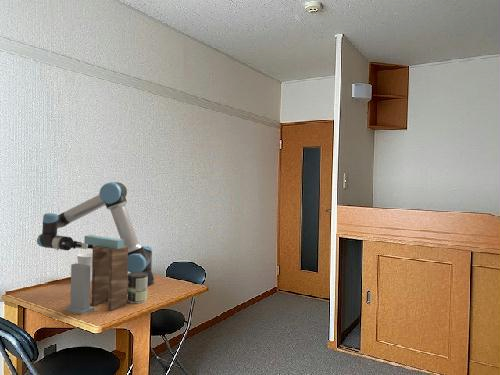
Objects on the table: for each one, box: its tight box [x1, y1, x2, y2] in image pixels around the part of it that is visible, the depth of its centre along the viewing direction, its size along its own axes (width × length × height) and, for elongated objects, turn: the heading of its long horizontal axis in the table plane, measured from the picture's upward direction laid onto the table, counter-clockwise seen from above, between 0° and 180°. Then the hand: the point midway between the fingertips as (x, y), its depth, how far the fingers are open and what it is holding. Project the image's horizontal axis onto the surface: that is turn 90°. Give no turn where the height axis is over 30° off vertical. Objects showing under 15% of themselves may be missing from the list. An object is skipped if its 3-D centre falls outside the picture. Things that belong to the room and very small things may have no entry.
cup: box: [76, 252, 93, 282], centre depth 233 cm, size 12×12×16 cm
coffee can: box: [127, 272, 148, 304], centre depth 199 cm, size 10×10×14 cm
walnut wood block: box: [90, 246, 128, 312], centre depth 189 cm, size 14×10×30 cm
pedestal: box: [64, 262, 95, 315], centre depth 181 cm, size 12×7×22 cm, turn 62°
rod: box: [83, 234, 124, 249], centre depth 191 cm, size 24×4×4 cm, turn 62°
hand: (95, 247), depth 205 cm, fingers open, 13 cm apart
